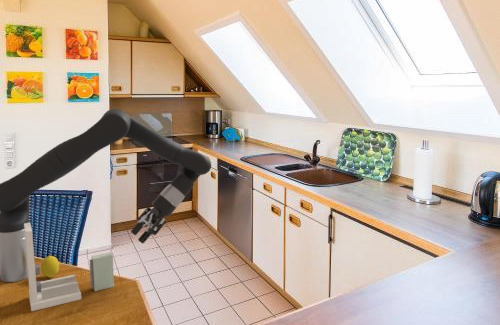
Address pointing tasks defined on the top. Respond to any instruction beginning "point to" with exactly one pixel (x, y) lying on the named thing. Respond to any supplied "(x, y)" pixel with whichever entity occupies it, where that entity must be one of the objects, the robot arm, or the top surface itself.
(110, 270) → the pale green slab
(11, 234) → the robot arm
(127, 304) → the top surface
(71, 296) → the white tall l-shaped piece
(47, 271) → the lemon
